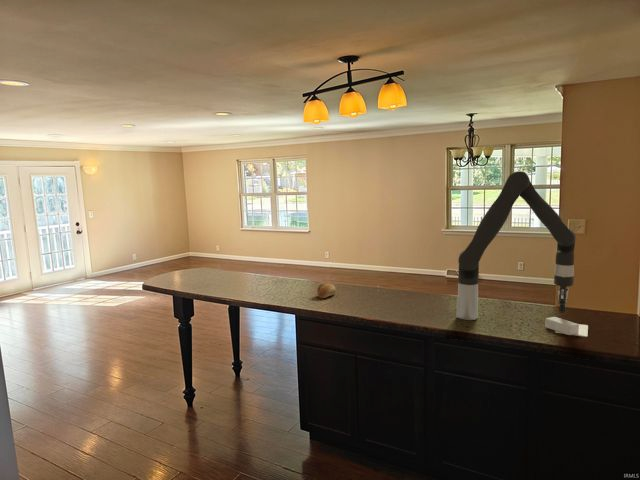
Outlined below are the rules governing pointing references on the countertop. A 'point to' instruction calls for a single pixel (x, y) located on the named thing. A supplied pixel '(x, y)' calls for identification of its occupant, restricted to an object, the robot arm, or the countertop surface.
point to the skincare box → (562, 325)
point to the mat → (580, 331)
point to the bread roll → (326, 290)
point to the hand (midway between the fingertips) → (562, 312)
